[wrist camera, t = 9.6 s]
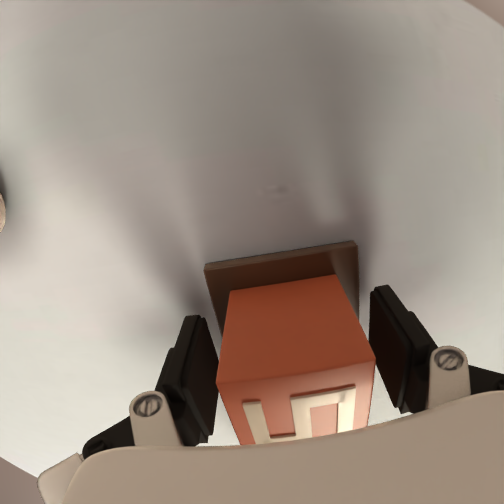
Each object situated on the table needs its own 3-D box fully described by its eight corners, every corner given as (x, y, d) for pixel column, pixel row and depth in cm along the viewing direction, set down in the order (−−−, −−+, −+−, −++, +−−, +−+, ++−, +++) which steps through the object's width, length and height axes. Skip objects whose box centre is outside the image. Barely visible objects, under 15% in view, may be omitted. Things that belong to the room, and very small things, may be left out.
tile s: (229, 290, 12) (214, 385, 7) (336, 273, 12) (377, 360, 7) (249, 367, 14) (245, 460, 9) (339, 353, 13) (365, 443, 8)
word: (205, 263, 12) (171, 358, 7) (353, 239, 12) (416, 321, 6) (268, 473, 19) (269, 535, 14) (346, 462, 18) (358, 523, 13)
